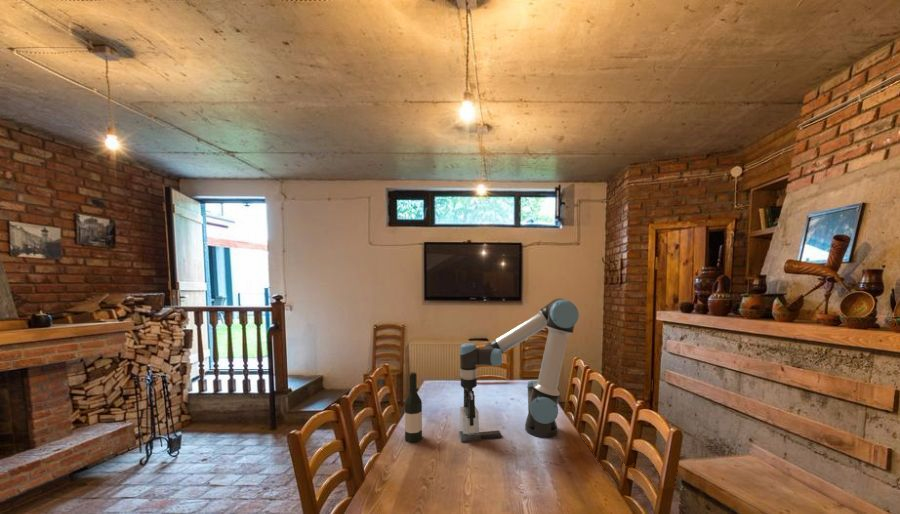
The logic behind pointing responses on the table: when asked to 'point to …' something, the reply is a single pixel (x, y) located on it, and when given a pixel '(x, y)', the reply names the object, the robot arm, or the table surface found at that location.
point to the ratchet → (478, 436)
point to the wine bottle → (413, 412)
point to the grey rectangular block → (465, 420)
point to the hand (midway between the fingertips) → (469, 428)
